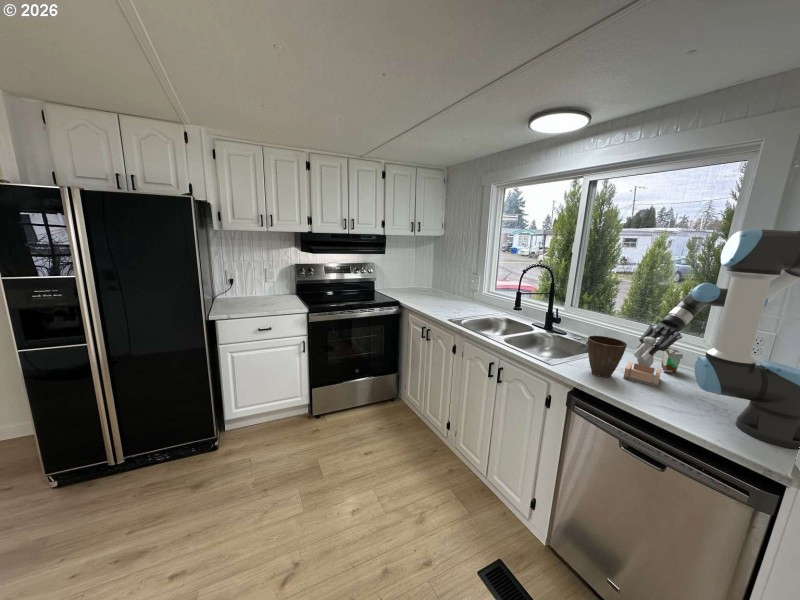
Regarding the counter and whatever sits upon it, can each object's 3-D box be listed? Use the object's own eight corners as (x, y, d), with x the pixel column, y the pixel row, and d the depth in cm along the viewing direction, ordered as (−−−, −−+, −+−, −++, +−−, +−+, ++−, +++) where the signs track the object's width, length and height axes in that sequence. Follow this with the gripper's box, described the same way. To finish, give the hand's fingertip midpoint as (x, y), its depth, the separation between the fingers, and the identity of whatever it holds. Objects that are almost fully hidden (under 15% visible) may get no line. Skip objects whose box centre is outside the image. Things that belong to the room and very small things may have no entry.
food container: (681, 377, 146) (686, 356, 144) (664, 373, 150) (669, 353, 148) (676, 368, 157) (680, 349, 155) (660, 365, 160) (664, 346, 158)
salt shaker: (633, 363, 143) (639, 336, 140) (640, 362, 146) (646, 334, 143) (648, 368, 138) (654, 340, 135) (655, 366, 141) (661, 338, 138)
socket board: (657, 387, 135) (659, 376, 134) (623, 378, 142) (625, 368, 142) (659, 378, 144) (661, 368, 143) (627, 370, 151) (629, 361, 150)
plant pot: (575, 366, 153) (580, 334, 150) (605, 367, 154) (611, 335, 150) (595, 380, 138) (601, 345, 135) (628, 381, 139) (635, 346, 136)
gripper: (700, 331, 134) (660, 370, 134) (661, 320, 149) (626, 355, 149) (693, 319, 132) (653, 358, 131) (654, 309, 147) (619, 345, 147)
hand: (639, 357), depth 140 cm, fingers closed on salt shaker, 3 cm apart
